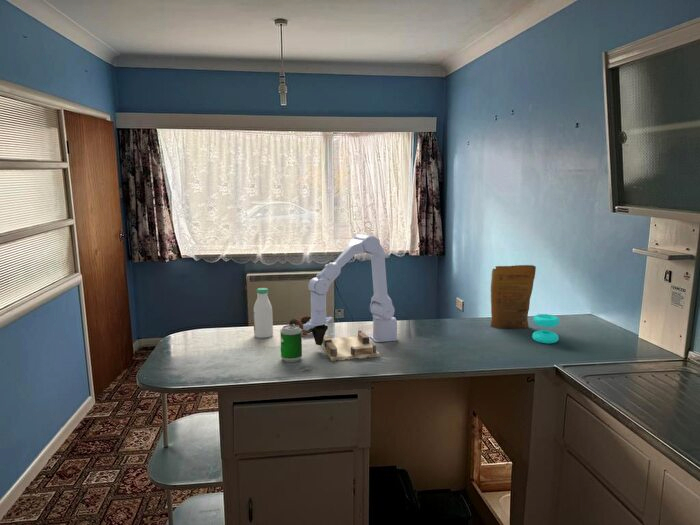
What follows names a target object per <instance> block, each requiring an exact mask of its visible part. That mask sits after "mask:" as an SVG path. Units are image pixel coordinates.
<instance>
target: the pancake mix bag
mask: <svg viewBox="0 0 700 525" xmlns="http://www.w3.org/2000/svg"><path fill="white" fill-rule="evenodd" d="M536 270H537V266H536V265H533V264H520V265H519V264H518V265H496V266H495V267H494V268H492V271H491V281H490V306H491V307H490V313H491V322H490V327H493V328H496V329H521V330H522V329H528V328H529V327H530V326H529V321H528V318H529V317H528V316H529V310H530V301H531V297H532V292H533V287H534V282H535V278H536Z"/></svg>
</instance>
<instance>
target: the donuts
mask: <svg viewBox="0 0 700 525" xmlns="http://www.w3.org/2000/svg"><path fill="white" fill-rule="evenodd" d="M532 320H533V322H534V324H535V325H537V326H539V327H544V328H545V327H546V328H554V327H556V326H559V325H560V323H561V320H560V318H559V317H558V316H556V315H552V314H546V313H540V314H539V313H538V314H536V315H534V316H533V318H532ZM531 338H532V339H533V340H534V341H535V342H537V343H542V344H556V343H557V342H558V341H559V340H560V338H559V335H558V334H557V333H556V332H554V331H552V330H549V329H547V330H546V329H538V330H535V331H534V332H533V333H532V336H531Z"/></svg>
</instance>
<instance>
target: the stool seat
mask: <svg viewBox="0 0 700 525" xmlns="http://www.w3.org/2000/svg"><path fill="white" fill-rule="evenodd" d="M329 338H330V339H331V340H332V342H326V347H325V346H324V344H323V343H322V346H321V347H322V349H323V350H324V352H325V354H326V356H328V358H329V359H330V361H331V362H335V361H336V360H338V361H346V360H345V359H348V360H355V359H354V358H359V359H367V357H370V358H378V357H380V354H381V353H380V352H379V351H378V350H377V345H376V344H371V343H370V336H368V335H367V334H366V333H365V332H364V331H362V330H358V332H357V335H354V336H346V337H345V336H343V337H329Z"/></svg>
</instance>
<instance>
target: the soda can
mask: <svg viewBox="0 0 700 525" xmlns="http://www.w3.org/2000/svg"><path fill="white" fill-rule="evenodd" d="M302 332H303V330H302V329H301V328H299V326H297V325H295V324H294V325H289V324H287V325H283V326H282V328H280V358H281V359H282V360H283V362H285V361H286V363H296V362H298V361H300V360H301V358H302V357H303V341H302V339H303V338H302V337H303V335H302Z"/></svg>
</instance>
